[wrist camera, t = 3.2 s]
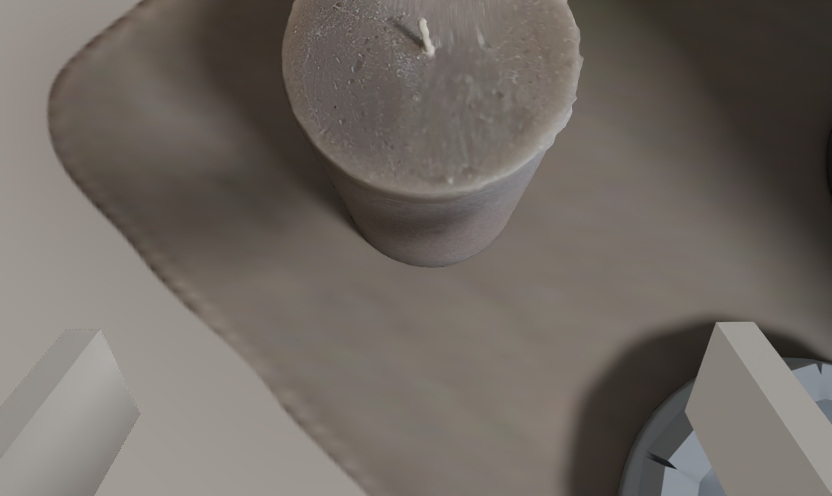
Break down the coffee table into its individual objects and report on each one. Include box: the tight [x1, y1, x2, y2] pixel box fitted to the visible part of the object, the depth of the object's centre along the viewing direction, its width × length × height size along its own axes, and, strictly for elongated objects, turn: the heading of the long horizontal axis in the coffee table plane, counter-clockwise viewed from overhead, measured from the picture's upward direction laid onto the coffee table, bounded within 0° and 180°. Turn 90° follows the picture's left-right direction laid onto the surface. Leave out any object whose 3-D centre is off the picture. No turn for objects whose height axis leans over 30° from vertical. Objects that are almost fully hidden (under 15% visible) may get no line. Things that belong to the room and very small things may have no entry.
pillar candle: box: [281, 0, 584, 267], centre depth 23 cm, size 10×10×15 cm
